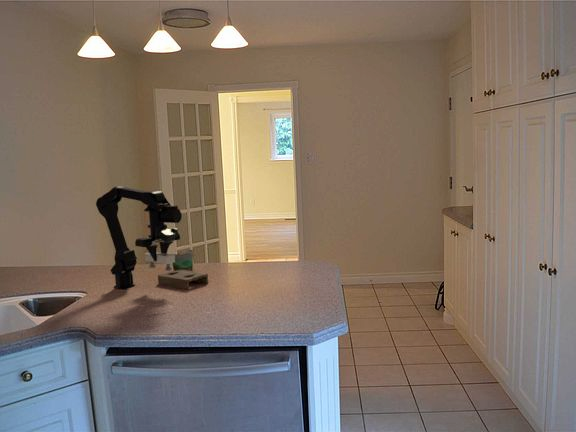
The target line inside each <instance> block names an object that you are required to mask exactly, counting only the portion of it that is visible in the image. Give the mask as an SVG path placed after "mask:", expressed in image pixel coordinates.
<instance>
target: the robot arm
mask: <svg viewBox="0 0 576 432" xmlns="http://www.w3.org/2000/svg"><path fill="white" fill-rule="evenodd" d="M123 198H125V199H130V200H134V201H139V202H141V203H142V204H144V205H146V208H145V209H143V212H147V213H148V217H149V218H148V219H149V220H148V221H149V224H148V225H147V228H149V231H150V232H149V233H150V234H148V237H140V238H136V239H135V242H134V244H135V247H138V248H139V247H141V248H145V249H146V250H147V251H148V253H150V254H151V256H152V258H153V260H154V261H157V253H158V252H157V248H158V246H159V249H160V253H164V254H168V251H169V248H170V246H171V245H172V244H174V241H180V240H181V235H180V233H179V232H178V231H179V230H178V228H177V227H173V228H170V229H169V228H168V225H167V224H168V223H169V224H170V223H171V224H178V223H180V222H181V221H182V217H183V214H182V212H181V210H180V208H179V206H178V205H173V206H172V204H170V202H169V201H168V199H167V197H166V196H165V194H164V192H163V191H161V190H145V191H144V190H140V189H135V188H130V187H126V186H125V187H124V186H122V185H121V186H113V187H112V188H111V189H110V190H109V191H108V192H106V193H104V194H103V195H101V196H100V197H98V198H97V200H96V201H95V206H96V208H97V211H98V213H99V214H100V215H101V216H102V217H103V218H104V219H105V223H106V224H107V228H108V231H109V234H110V238H111V240H112V244H113V247H114V250H115V253H114V265H113V266H112V267H111V269H110V273H111V275H113V276H114V281H115V285H113V288H116V289H120V290H125V289H127V288H131V287H135V286H136V284H135V283H134V275H133V273H132V271H135V268H136V265H137V263H138V262H137V259H138V258H137V256H136V252H135V250H134V249H130V248H129V247H128V245H127V241H126V239H125V235H124V232H123V229H122V225H121V222H120V220H119V217H118V212H119V203H120V202H121V201H122V199H123ZM165 223H167V224H165ZM156 243H159V245H158V244H156ZM156 252H157V253H156Z"/></svg>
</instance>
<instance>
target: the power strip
mask: <svg viewBox="0 0 576 432" xmlns="http://www.w3.org/2000/svg"><path fill="white" fill-rule="evenodd" d="M156 253H157V261H154V260H153V258H152V256H151V254H150V253H149V252H146V253H144V261H146V262H150V264H149V269H154V268H156V264H155V263H157V264H163V265H166V267H165V271H166V272H170V271H173V270H172V266H171V265H170V264H172V263H174V262H175V255H171V254H172V253H167V254H164V253H161V252H158V251H156Z"/></svg>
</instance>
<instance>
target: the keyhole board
mask: <svg viewBox="0 0 576 432" xmlns="http://www.w3.org/2000/svg"><path fill="white" fill-rule="evenodd" d="M191 282H198V283H204V284H208V283H209V275H208V273H207V272H206V273H205V272H200V271H194V270H193V271H188V270H182V269H177V270H170V271H166V272H164V273H160V274H158V275H157V283H158V285H162V286H166V287H172V288H178V289H182V290H190V283H191Z"/></svg>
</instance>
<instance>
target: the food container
mask: <svg viewBox="0 0 576 432" xmlns="http://www.w3.org/2000/svg"><path fill="white" fill-rule="evenodd" d="M170 254H171V255H175V262H174V263H171V264H172V268H173V270H172V271H174V270H177V269H182V270H188V271H194V270H193V269H194V268H193V267H194V264H193V263H194V259H193V258H194V256H195V252H194V251H193V249H189V251H186V252H179V253H178V254H177V253H174V254H173V253H170Z"/></svg>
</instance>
